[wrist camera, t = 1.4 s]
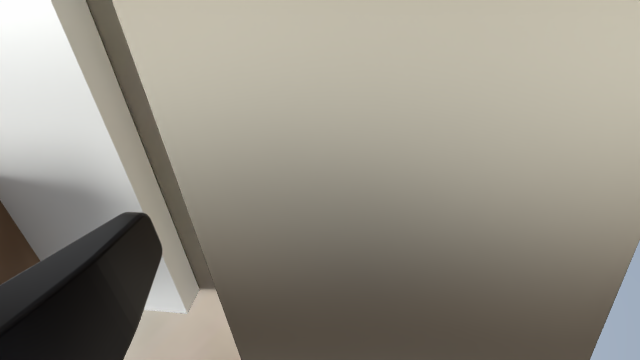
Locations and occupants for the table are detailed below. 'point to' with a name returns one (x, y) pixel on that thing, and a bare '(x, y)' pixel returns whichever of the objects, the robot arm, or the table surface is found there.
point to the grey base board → (75, 141)
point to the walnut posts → (13, 248)
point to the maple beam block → (402, 168)
